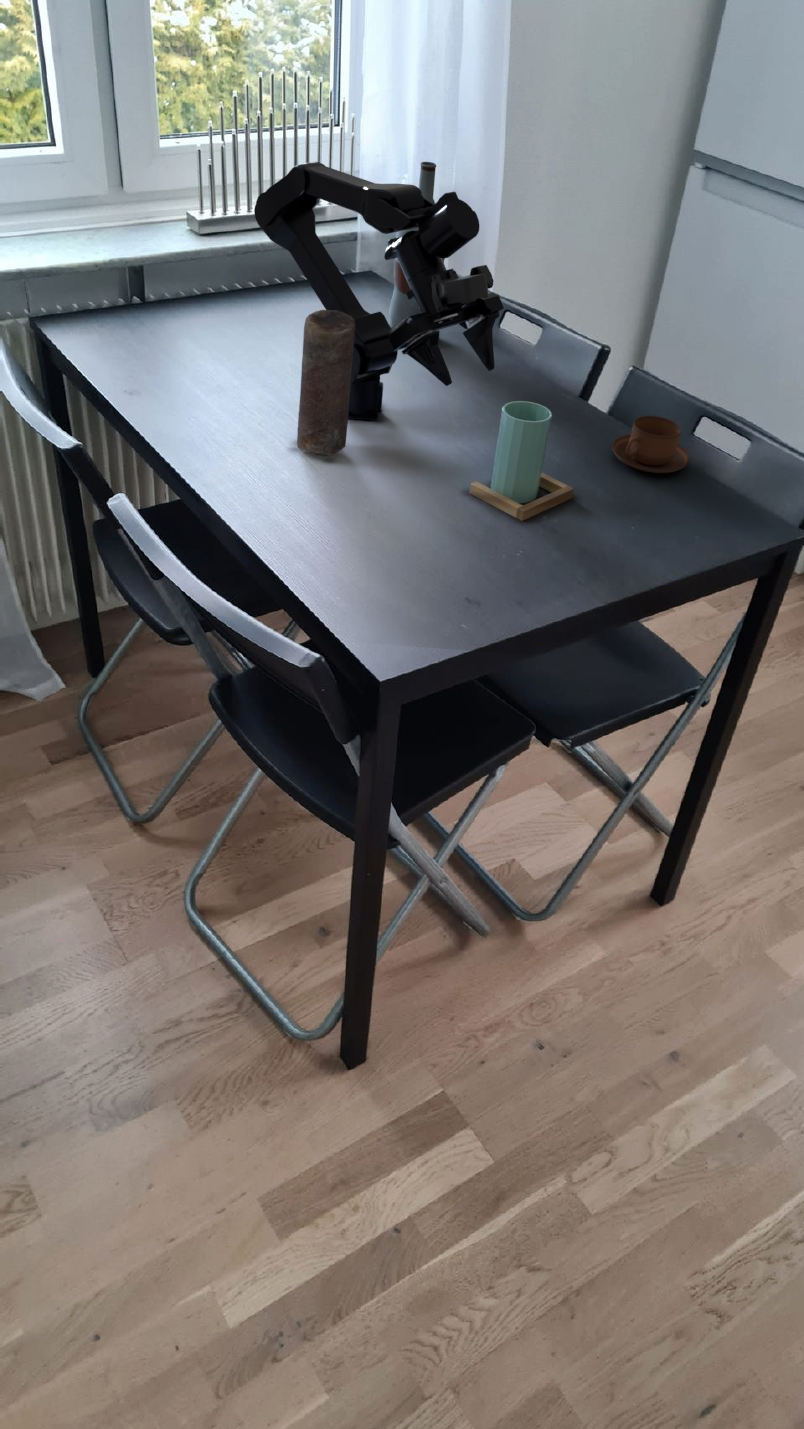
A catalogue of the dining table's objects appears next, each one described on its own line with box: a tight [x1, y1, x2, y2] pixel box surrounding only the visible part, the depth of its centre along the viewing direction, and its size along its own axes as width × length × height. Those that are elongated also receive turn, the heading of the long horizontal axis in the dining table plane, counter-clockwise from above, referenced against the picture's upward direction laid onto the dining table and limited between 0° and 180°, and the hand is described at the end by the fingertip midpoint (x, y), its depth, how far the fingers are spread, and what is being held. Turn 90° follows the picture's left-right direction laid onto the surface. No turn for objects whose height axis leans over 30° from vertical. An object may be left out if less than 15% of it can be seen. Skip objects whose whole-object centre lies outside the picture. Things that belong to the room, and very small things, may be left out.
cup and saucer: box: [612, 415, 690, 474], centre depth 173 cm, size 12×12×6 cm
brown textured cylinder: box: [296, 309, 355, 457], centre depth 162 cm, size 8×7×20 cm
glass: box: [489, 400, 553, 504], centre depth 159 cm, size 7×7×12 cm
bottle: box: [388, 161, 446, 332], centre depth 198 cm, size 9×9×30 cm
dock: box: [468, 472, 575, 522], centre depth 162 cm, size 10×12×2 cm
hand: (471, 377), depth 161 cm, fingers open, 9 cm apart
